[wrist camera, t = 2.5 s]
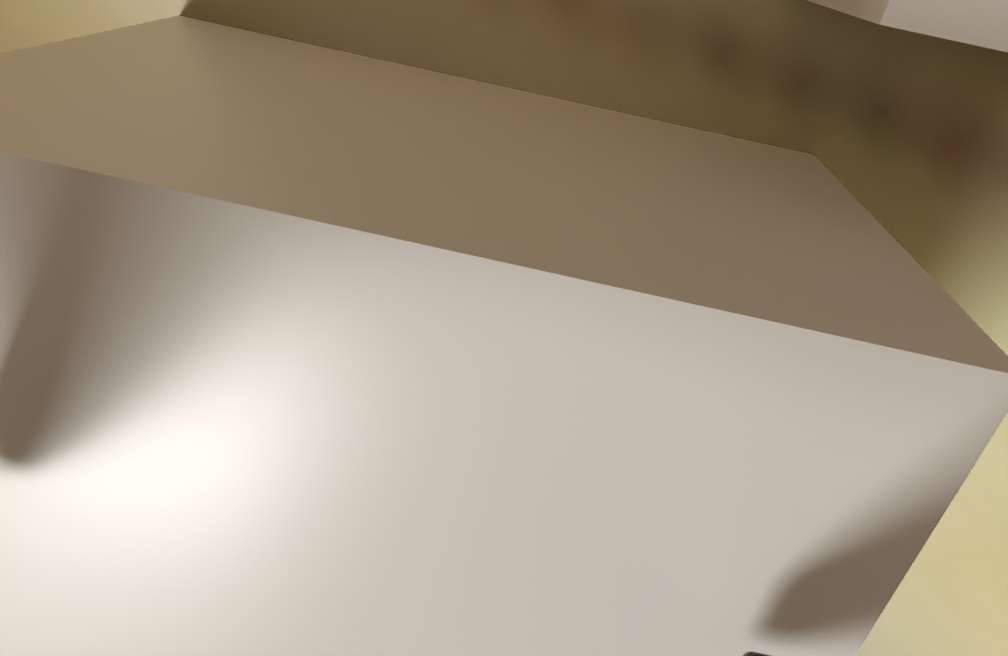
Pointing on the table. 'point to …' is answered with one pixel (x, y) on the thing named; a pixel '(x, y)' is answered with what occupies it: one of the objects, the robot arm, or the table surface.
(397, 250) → the plain grey block
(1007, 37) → the white marked cube
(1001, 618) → the table surface
